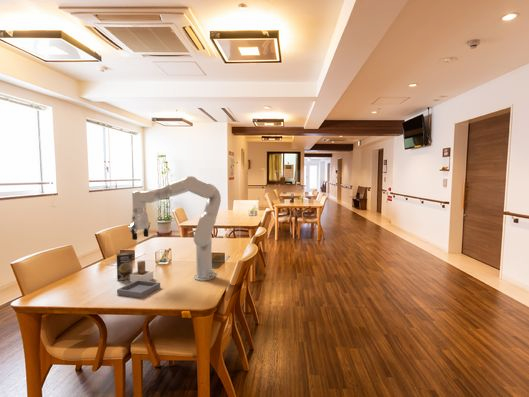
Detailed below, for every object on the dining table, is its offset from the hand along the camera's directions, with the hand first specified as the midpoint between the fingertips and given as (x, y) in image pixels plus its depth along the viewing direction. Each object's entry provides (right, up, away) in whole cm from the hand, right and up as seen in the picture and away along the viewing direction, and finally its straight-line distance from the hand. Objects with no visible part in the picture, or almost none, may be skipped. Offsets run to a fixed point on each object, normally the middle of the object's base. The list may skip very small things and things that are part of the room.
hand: (140, 238), depth 188 cm
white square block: (+1, -27, 0) cm, 27 cm away
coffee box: (-12, -27, +4) cm, 29 cm away
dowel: (+1, -27, 0) cm, 27 cm away
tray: (+6, -28, -17) cm, 33 cm away
